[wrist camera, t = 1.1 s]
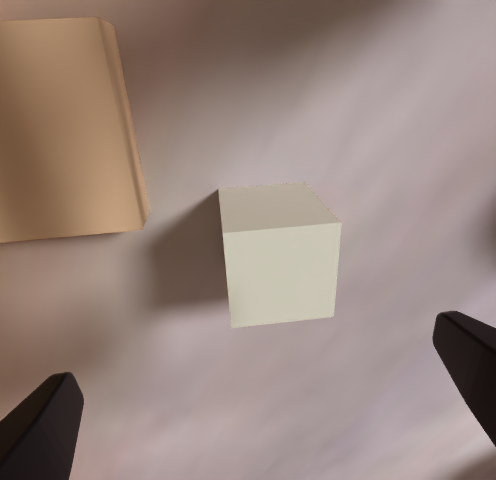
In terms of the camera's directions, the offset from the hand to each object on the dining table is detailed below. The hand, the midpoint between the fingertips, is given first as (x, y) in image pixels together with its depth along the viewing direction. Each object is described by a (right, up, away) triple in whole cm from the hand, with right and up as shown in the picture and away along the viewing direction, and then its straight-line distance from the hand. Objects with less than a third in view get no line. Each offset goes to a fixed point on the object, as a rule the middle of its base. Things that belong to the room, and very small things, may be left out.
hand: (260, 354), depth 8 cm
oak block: (-11, +8, +9) cm, 16 cm away
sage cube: (+1, +4, +12) cm, 13 cm away
